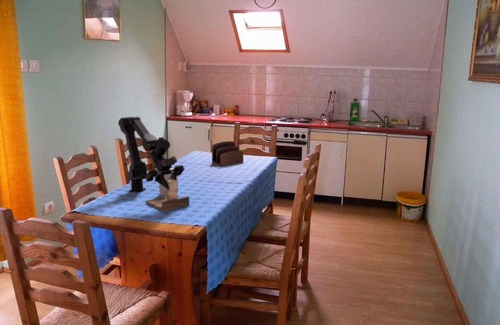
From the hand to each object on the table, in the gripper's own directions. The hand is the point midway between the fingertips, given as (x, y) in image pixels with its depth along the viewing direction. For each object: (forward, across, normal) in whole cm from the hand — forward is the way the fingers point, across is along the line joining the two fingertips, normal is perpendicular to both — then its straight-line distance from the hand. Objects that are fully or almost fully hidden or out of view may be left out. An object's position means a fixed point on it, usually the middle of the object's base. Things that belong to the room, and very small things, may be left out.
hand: (172, 188), depth 199 cm
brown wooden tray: (+3, 0, +10) cm, 10 cm away
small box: (-7, +10, +20) cm, 24 cm away
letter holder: (-30, +78, +44) cm, 94 cm away
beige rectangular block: (+4, 0, +6) cm, 7 cm away
